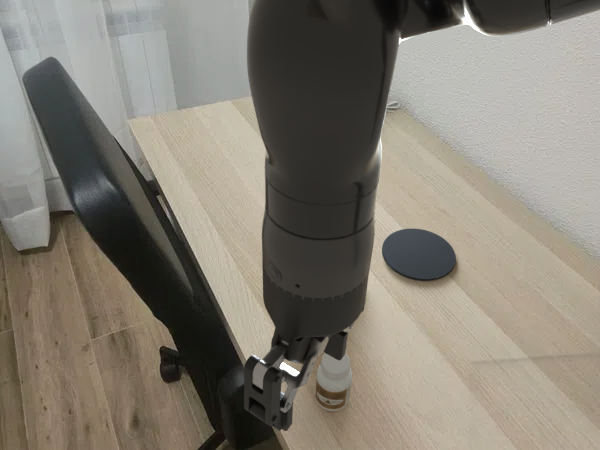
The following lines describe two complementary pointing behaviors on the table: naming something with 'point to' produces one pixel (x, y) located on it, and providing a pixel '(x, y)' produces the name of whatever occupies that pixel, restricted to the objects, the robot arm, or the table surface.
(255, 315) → the table surface
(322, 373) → the pill bottle
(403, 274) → the rubber mat
